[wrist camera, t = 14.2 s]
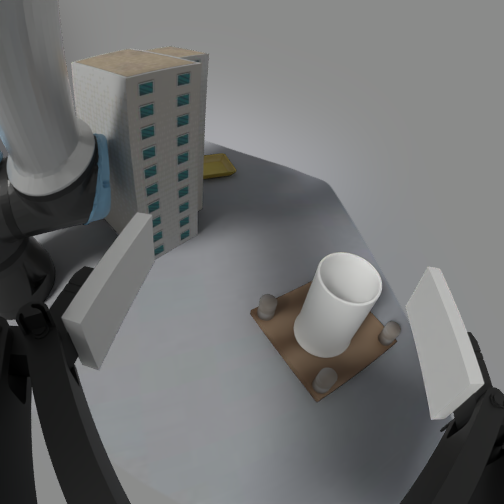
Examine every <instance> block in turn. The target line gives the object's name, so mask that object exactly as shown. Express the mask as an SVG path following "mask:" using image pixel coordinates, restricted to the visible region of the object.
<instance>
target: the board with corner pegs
mask: <svg viewBox="0 0 504 504" xmlns="http://www.w3.org/2000/svg"><path fill="white" fill-rule="evenodd" d="M311 284H312V281H311V282H309V283H307V284H305V285H303V286H301V287H299V288H297V289H295V290H293V291H291V292H289V293H286V294H284V295H282V296H280V297H278V298H275V297H274V296H273V295H270V294H265V295H263V296H262V297H261V298H260V301H259V306H258V307H257V308H255V309H252V310H251V313H250V314H251V316H252V317H253V318H254V320H255V321H256V323H257V324H258V325H259V327H260V328H261V329H262V331H263V332H264V333H265V335H266V336H267V337H268V339H269V340H270V341H271V343H272V344H273V346H274V347H275V348H276V350H277V351H278V352H279V354H280V355H281V356H282V358H283V359H284V360H285V361H286V363H287V364H288V365H289V367H290V368H291V369H292V371H293V372H294V373H295V375H296V376H297V377H298V379H299V380H300V381H301V383H302V384H303V385H304V386H305V388H306V389H307V390H308V392H309V393H310V394H311V395H312V397H313V398H314V399H315V401H316V402H318V401H320V400H321V399H323V398H324V397H326V396H327V395H329V394H330V393H331V392H333V391H334V390H336V389H337V388H339V387H340V386H341V385H343V384H344V383H345V382H347V381H348V380H350V379H351V378H352V377H354V376H355V375H356V374H358V373H359V372H360V371H362V370H363V369H364V368H366V367H367V366H368V365H369V364H371V363H372V362H373V361H375V360H376V359H377V358H378V357H380V356H381V355H382V354H383V353H385V352H386V351H387V350H388V349H389V348H391V347H392V346H393V345H394V344H395V343H396V342H397V340H396V339H395V338H396V337H397V336H398V335H399V334H400V332H401V328H400V326H399V325H398V324H397V323H396V322H393V321H390V322H388V323H387V324H386V326H385V327H384V326H383V325H382V324H381V323H380V322H379V321H378V319H377V318H376V317H375V316H374V315H373V314H372V313H371V312H369V313H368V315H367V317H366V318H365V320H364V321H363V323H362V324H361V326H360V327H359V329H358V330H357V332H356V333H355V335H354V336H353V338H352V339H351V342H350V344H349V346H348V348H347V349H346V350H345V351H344V352H343V353H341V354H340V355H338V356H335V357H331V358H322V357H317V356H314V355H312V354H310V353H308V352H307V351H305V350H304V349H303V348H302V347H301V346H300V345H299V343H298V342H297V340H296V338H295V335H294V323H295V320H296V318H297V316H298V315H299V314H300V312H301V309H302V307H303V304H304V302H305V299H306V297H307V294H308V291H309V289H310V286H311Z"/></svg>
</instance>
